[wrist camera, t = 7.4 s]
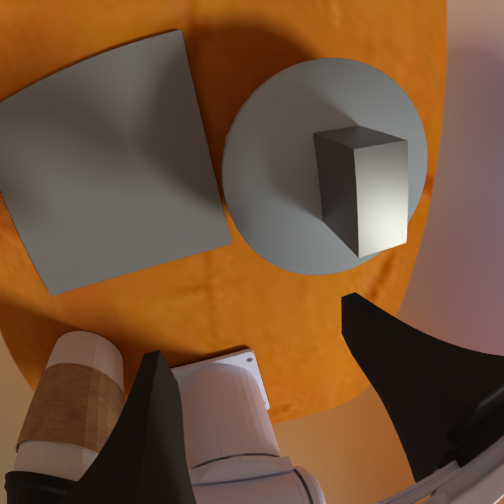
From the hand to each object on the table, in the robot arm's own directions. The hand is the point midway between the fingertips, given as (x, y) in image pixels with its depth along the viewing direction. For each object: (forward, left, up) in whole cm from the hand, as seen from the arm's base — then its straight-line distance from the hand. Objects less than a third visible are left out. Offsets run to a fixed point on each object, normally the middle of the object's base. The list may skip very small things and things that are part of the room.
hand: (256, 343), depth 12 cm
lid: (+4, -6, -5) cm, 9 cm away
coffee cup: (-7, +13, -10) cm, 18 cm away
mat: (+6, +6, -9) cm, 13 cm away
